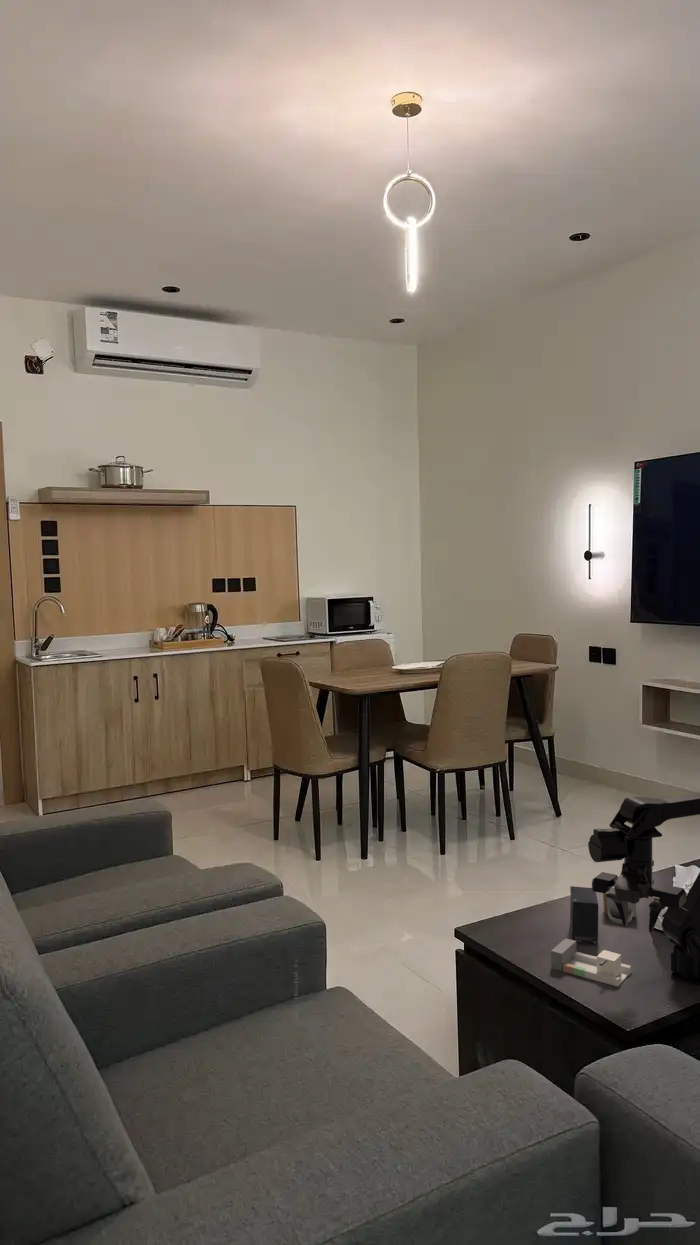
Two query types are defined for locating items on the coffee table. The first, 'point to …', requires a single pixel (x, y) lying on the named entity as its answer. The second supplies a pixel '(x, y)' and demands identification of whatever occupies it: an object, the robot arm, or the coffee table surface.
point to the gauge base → (583, 964)
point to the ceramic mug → (612, 909)
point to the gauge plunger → (609, 963)
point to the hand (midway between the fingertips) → (638, 928)
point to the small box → (584, 915)
